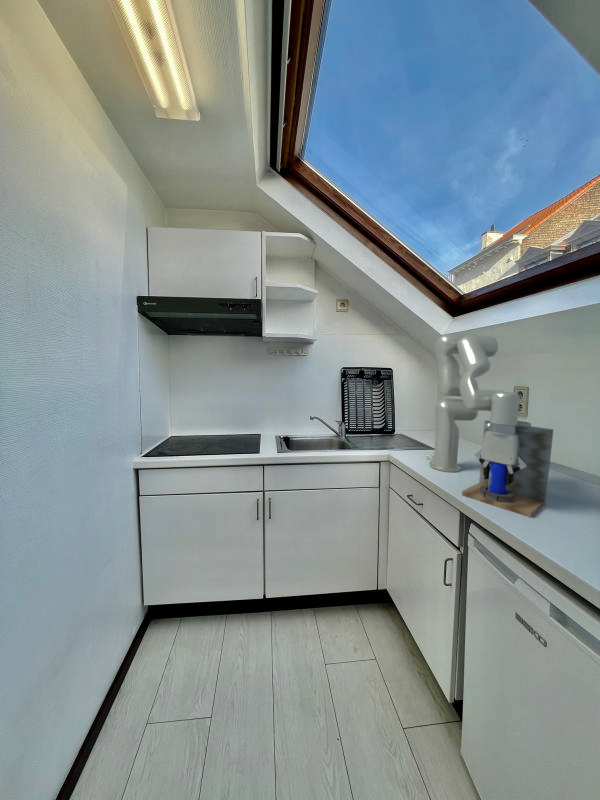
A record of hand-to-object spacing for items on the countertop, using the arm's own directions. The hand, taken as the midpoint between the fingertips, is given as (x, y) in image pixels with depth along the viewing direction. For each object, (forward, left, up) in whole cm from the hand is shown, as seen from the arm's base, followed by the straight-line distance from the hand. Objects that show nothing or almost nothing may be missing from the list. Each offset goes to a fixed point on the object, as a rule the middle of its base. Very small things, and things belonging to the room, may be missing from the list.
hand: (497, 480), depth 102 cm
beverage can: (0, 0, -6) cm, 6 cm away
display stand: (+1, +3, -7) cm, 8 cm away
